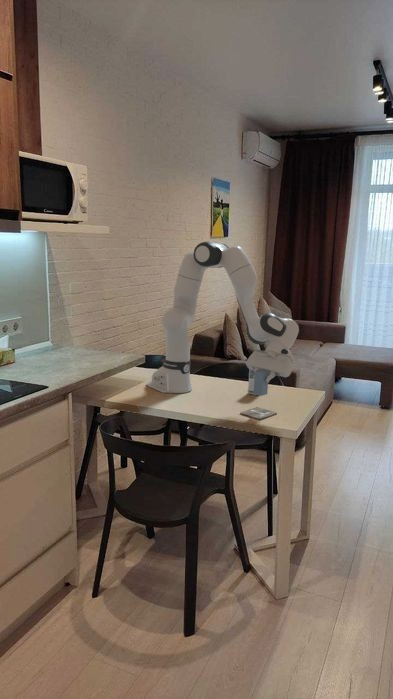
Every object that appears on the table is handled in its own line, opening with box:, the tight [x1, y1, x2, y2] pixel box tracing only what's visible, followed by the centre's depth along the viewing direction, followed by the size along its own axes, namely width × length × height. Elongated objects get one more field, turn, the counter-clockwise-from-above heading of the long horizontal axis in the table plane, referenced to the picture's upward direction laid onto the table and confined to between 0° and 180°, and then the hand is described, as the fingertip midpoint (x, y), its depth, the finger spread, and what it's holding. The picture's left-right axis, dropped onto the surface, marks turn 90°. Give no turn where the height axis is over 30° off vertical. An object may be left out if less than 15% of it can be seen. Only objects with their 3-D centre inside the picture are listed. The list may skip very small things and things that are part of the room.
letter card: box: [239, 406, 278, 421], centre depth 217 cm, size 10×12×1 cm
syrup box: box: [247, 368, 258, 396], centre depth 246 cm, size 6×6×14 cm
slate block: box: [253, 371, 270, 397], centre depth 215 cm, size 4×4×9 cm
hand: (260, 380), depth 214 cm, fingers closed on slate block, 4 cm apart
